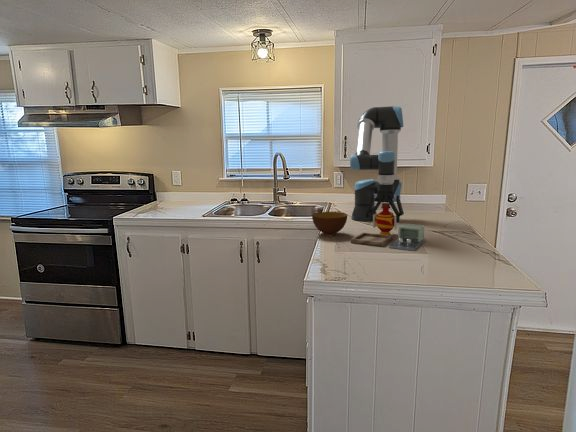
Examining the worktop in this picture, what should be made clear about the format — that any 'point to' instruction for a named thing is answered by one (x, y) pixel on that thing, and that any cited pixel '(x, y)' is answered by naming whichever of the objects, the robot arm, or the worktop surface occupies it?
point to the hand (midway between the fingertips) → (385, 228)
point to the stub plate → (406, 247)
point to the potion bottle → (385, 220)
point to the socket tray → (372, 239)
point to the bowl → (329, 222)
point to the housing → (411, 231)
